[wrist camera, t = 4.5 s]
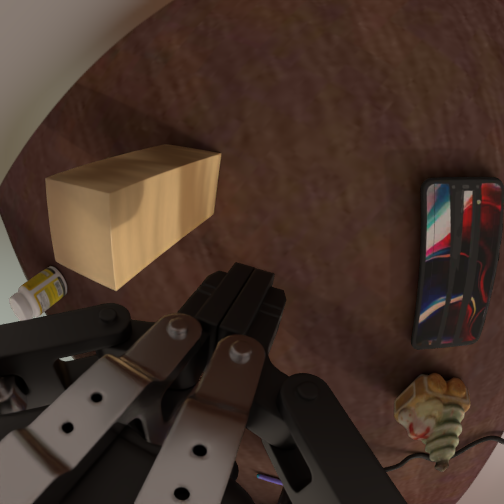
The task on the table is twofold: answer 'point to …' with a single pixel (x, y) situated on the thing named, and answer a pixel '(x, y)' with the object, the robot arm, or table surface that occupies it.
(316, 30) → the table surface
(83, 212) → the block
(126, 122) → the table surface
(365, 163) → the table surface
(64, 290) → the supplement bottle
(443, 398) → the ornament
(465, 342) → the smartphone
